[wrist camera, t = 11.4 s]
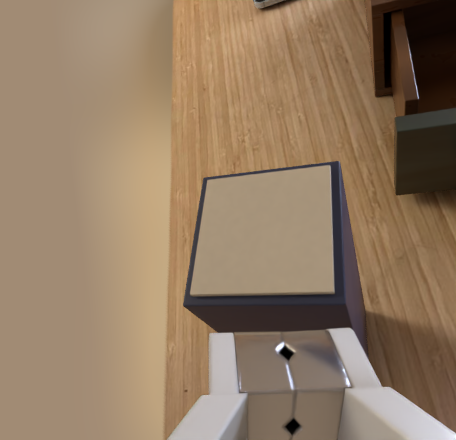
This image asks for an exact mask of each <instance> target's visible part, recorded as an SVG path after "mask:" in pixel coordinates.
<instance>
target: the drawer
mask: <svg viewBox="0 0 456 440" xmlns="http://www.w3.org/2000/svg"><path fill="white" fill-rule="evenodd" d="M386 49H387V56H388V63H389V70H390V78H391V85H392V92H393V99H394V106H395V113H396V117H395V135H394V185H395V194H396V195H404V194H415V193H426V192H436V191H447V190H456V0H438V1H433V2H429V3H425V4H421V5H416V6H412V7H408V8H404V9H399V10H395V11H391V12H387V13H386Z"/></svg>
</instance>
